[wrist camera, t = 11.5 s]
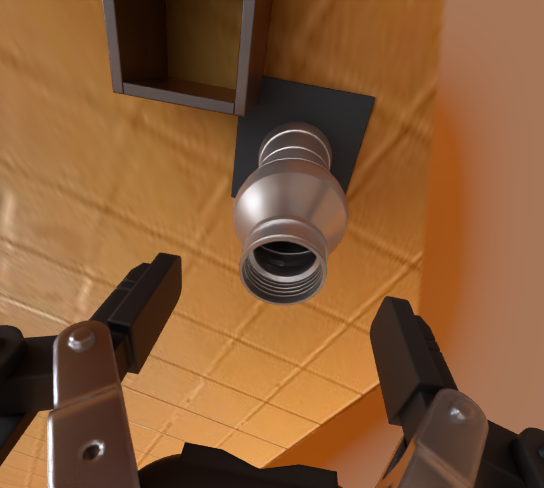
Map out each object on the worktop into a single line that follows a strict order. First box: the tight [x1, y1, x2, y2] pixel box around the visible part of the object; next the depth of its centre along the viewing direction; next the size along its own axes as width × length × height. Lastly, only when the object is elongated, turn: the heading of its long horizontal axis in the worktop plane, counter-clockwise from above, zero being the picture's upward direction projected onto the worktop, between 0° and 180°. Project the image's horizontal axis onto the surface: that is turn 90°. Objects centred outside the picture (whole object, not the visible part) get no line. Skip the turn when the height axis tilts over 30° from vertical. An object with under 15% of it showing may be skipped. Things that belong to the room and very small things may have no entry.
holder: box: [103, 0, 272, 117], centre depth 22 cm, size 11×10×8 cm
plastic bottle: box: [233, 121, 349, 306], centre depth 21 cm, size 6×7×20 cm
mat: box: [231, 76, 375, 198], centre depth 30 cm, size 12×12×1 cm
